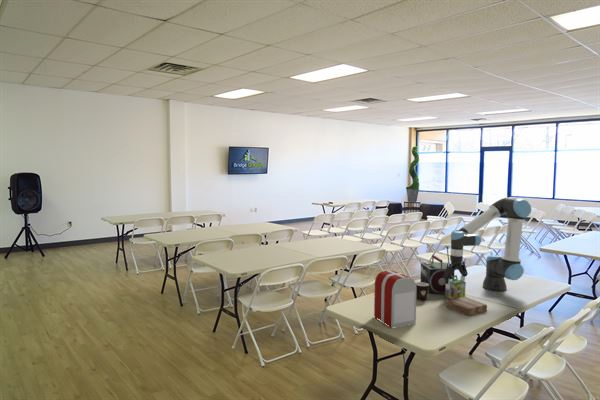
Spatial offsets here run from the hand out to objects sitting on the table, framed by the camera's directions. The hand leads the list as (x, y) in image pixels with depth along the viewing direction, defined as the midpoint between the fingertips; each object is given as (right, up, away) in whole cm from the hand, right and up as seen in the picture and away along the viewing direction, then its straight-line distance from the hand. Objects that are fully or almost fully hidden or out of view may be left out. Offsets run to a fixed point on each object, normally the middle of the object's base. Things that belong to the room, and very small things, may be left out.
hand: (455, 287), depth 257 cm
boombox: (-5, -6, +18) cm, 20 cm away
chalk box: (0, -8, +1) cm, 8 cm away
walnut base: (-1, -9, -19) cm, 21 cm away
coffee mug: (-24, -8, 0) cm, 25 cm away
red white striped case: (-48, -11, -36) cm, 61 cm away
